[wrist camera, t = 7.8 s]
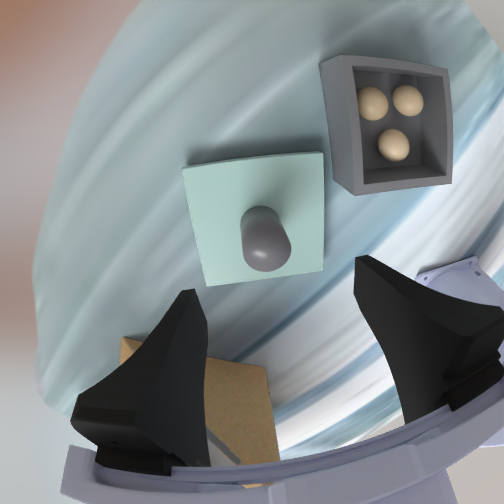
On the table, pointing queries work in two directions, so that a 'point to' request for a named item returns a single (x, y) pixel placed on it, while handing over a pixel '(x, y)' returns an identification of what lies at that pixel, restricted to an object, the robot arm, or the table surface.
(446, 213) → the table surface
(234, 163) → the lid
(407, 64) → the box
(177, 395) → the robot arm
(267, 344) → the table surface
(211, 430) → the sandwich container
